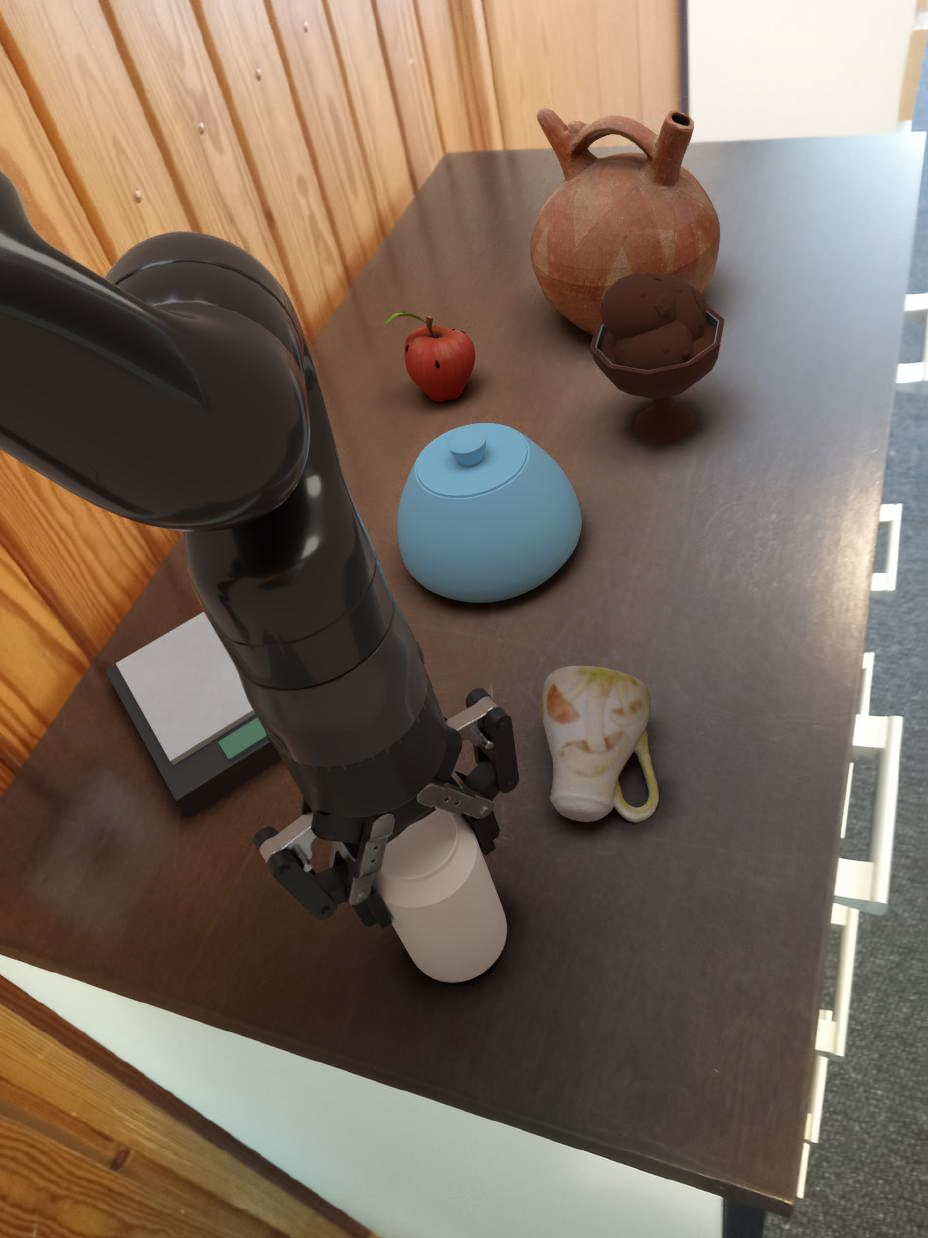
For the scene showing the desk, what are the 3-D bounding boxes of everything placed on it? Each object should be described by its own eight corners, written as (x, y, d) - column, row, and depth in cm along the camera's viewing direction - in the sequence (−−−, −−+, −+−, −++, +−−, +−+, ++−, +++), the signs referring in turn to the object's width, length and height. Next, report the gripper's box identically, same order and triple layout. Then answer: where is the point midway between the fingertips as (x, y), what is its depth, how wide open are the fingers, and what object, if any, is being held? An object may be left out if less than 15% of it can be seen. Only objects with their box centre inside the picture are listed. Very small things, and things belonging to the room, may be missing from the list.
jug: (508, 346, 106) (468, 153, 91) (593, 255, 114) (568, 66, 100) (673, 376, 96) (657, 166, 82) (752, 274, 105) (749, 69, 91)
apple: (458, 364, 105) (435, 275, 98) (496, 389, 101) (475, 298, 94) (396, 399, 103) (368, 312, 96) (432, 427, 99) (406, 337, 92)
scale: (189, 819, 73) (171, 796, 71) (118, 689, 84) (101, 665, 82) (367, 705, 77) (355, 680, 75) (277, 594, 87) (265, 569, 85)
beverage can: (514, 892, 64) (476, 785, 56) (505, 990, 60) (462, 891, 51) (418, 892, 66) (366, 787, 57) (403, 987, 61) (345, 890, 53)
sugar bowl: (443, 643, 80) (406, 534, 71) (383, 532, 90) (345, 426, 82) (617, 566, 81) (600, 451, 73) (539, 466, 92) (516, 355, 83)
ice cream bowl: (697, 475, 86) (688, 319, 76) (581, 449, 92) (557, 299, 81) (748, 401, 92) (746, 244, 81) (635, 380, 97) (618, 231, 86)
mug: (529, 842, 66) (493, 701, 64) (586, 771, 74) (555, 642, 72) (638, 847, 63) (604, 697, 60) (685, 771, 70) (657, 635, 68)
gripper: (434, 566, 50) (498, 764, 62) (168, 729, 46) (291, 905, 58) (523, 653, 45) (574, 849, 57) (233, 843, 41) (352, 1010, 53)
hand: (430, 877), depth 57 cm, fingers closed on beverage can, 6 cm apart
